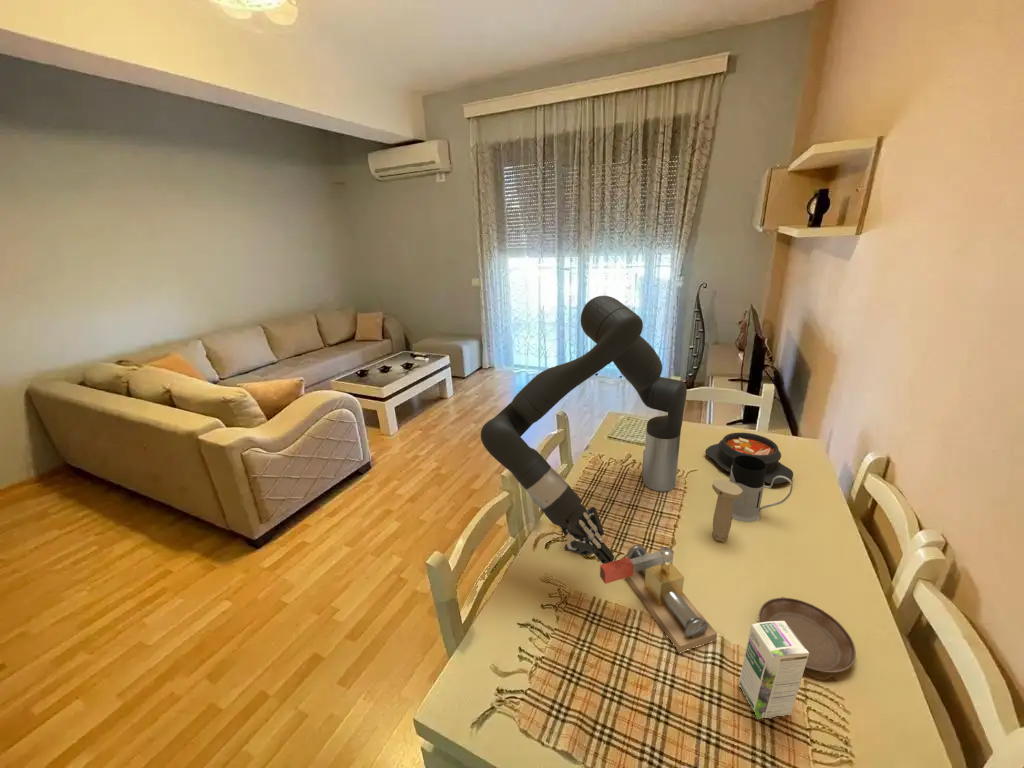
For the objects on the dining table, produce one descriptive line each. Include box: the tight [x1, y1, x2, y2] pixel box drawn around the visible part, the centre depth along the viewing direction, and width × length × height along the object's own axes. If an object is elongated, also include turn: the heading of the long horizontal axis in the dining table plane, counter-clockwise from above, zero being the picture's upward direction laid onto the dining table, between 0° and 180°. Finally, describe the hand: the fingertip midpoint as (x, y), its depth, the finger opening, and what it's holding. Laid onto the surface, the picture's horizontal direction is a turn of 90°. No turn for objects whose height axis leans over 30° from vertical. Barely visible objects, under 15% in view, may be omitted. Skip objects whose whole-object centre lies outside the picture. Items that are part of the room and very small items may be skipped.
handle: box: [711, 478, 743, 543], centre depth 101 cm, size 5×6×15 cm
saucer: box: [758, 597, 857, 674], centre depth 78 cm, size 15×15×3 cm
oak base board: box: [625, 551, 718, 654], centre depth 88 cm, size 22×8×2 cm, turn 16°
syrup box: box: [738, 621, 809, 720], centre depth 67 cm, size 6×6×14 cm
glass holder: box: [728, 455, 794, 523], centre depth 108 cm, size 9×14×15 cm, turn 50°
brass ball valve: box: [626, 544, 708, 639], centre depth 86 cm, size 21×5×9 cm, turn 16°
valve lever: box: [599, 546, 675, 585], centre depth 82 cm, size 15×3×3 cm, turn 106°
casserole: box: [705, 432, 794, 485], centre depth 130 cm, size 25×19×8 cm
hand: (610, 561), depth 84 cm, fingers closed
